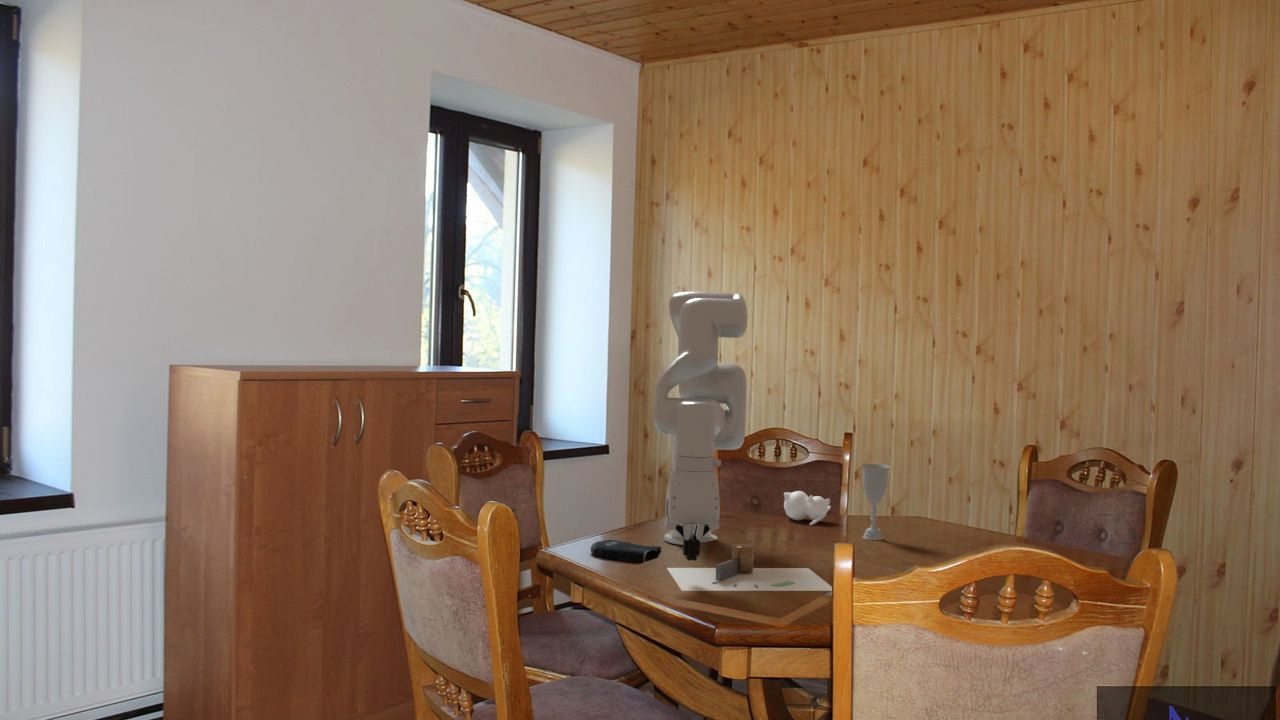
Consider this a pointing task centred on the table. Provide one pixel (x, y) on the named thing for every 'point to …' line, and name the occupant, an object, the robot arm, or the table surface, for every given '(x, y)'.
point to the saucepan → (736, 562)
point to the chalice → (874, 493)
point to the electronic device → (625, 551)
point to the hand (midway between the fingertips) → (691, 559)
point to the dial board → (751, 580)
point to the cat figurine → (805, 506)
